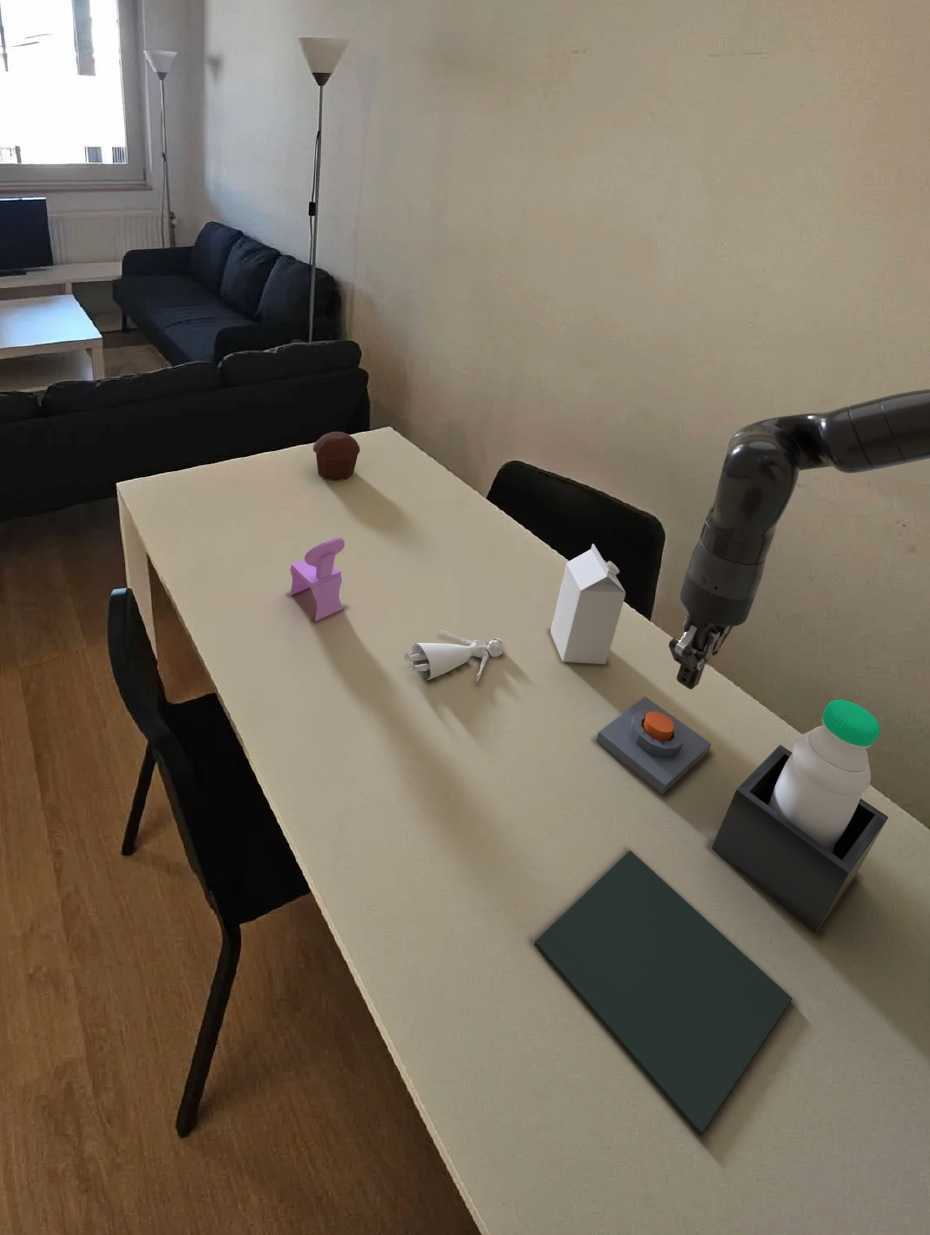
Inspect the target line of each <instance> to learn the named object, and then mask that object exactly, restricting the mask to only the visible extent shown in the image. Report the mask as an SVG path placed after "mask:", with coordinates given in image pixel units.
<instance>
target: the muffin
mask: <svg viewBox="0 0 930 1235" xmlns="http://www.w3.org/2000/svg"><path fill="white" fill-rule="evenodd" d="M312 451H313V452H314V453H315V456H316V465H317V466H316V467H317V474H318V475H319V476H321V477H323V478H324V479H325V480H331V481H335V482H338V481H344V480H348V479H349V478H350V477H352V476H353V475H354V471H355V469H356V463H357V460H358V457H359V455H360V452H361V448H360V445H359V443H358V441H357V440H356V439H355V438H354V437H353V436H352V435H350V434H349V433H345V432H343V431H331V432H329V433H325V434H323V435H322V436H320V437H319V438H318V439H317V440H316V441H315V442H314V444H313V446H312Z"/></svg>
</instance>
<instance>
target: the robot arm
mask: <svg viewBox="0 0 930 1235" xmlns="http://www.w3.org/2000/svg"><path fill="white" fill-rule="evenodd" d="M929 459H930V388H925V389H918V390H917V389H916V390H910V391H904V392H899V393H893V394H890V395H885V396H882V397H879V398H873V399H870V400H866V401H862V402H858V403H853V404H851V405H847V406H843V407H839V408H836V409H833V410H829V411H824V412H808V413H801V414H791V415H783V416H775V417H770V418H766V419H762V420H758V421H755V422H752V423H750V424H748V425H745V426H743V427H741V428H739V429H738V430H737V431H735V433H733V435H732V436H731V438H730V439H729V442H728V445H727V449H726V453H725V456H724V459H723V460H724V461H723V464H722V469H721V471H720V476H719V480H718V484H717V488H716V493H715V496H714V501H713V502H712V503H711V505H710V507H709V509H708V512H707V514H706V517H705V520H704V523H703V526H702V529H701V533H700V536H699V539H698V541H697V543H696V545H695V546H694V549H693V551H692V554H691V557H690V561H689V564H688V567H687V571H686V573H685V576H684V580H683V582H682V586H681V589H680V593H679V598H680V602H681V603H682V605H683V607H684V608H685V609H686V611H687V613H688V614H687V615H686V616H685V617H684V619H683V622H682V628H683V630H682V633H681V637H680V639H678V638H677V639H675V638H672V639H671V640H669V643H668V647H669V650H670V653H671V656H672V658H673V661H674V662H677V663H678V664H679V665H680V666H679V669H678V672H677V675H676V681H677V682H678V683H679V684H681V685H682V686H684V687H686V688H687V689H689V690H693V689H694V688H695V687H697V686H698V685H699V684H700V681H701V678H702V675H703V673H704V669H705V666H708V664H709V663H711V658H712V656H713V657H715V656H716V655H717V654H719V650H720V649H721V647H722V645H723V644H724V643H725V641H726V639H727V638H728V636H729V635H730V632H731V631H732V630H733V628H734V627H738V626H740V625H742V624H744V623H745V622H746V621H747V619H748V617H749V614H750V613H751V609H752V606H753V603H754V600H755V598H756V595H757V592H758V590H759V586H760V584H761V581H762V579H763V574H764V571H765V564H766V560H767V556H768V554H769V551H770V548H771V545H772V542H773V540H774V539H775V538H774V537H775V533H776V529H777V525H778V523H779V521H780V519H781V518H782V516H783V514H784V512H785V510H786V508H787V506H788V504H789V503H790V500H791V498H792V496H793V494H794V491H795V489H796V485H797V482H798V479H799V476H800V472H801V471H804V470H805V471H806V470H807V471H808V470H813V469H821V468H822V469H823V468H830V467H831V468H834V469H836V470H837V471H839V472H840V473H844V474H859V473H864V472H871V471H874V470H881V469H885V468H890V467H895V466H900V465H901V466H902V465H905V464H910V463H915V462H919V461H924V460H929Z"/></svg>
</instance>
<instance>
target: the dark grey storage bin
mask: <svg viewBox="0 0 930 1235" xmlns="http://www.w3.org/2000/svg"><path fill="white" fill-rule="evenodd" d="M791 754H792V751H791V750H789V749H787V748H786V747H785V746H783V745H781V744H779V745H778V746H777V747H776V748H775V749H774V750H773V751H772V752H771V753H770V754H769V755H768V756H767V757H766V759H764V760H763V761H762V762H761V763H760V764H759V766H758V767H756V768H755V770H754V771H753V772H752V773H751V774H750V775H748V777H747V778H746V779H745V780H743V782H742V783H741V784H740V785H739V786H738V787H737V788H736V790H735V791H734V794H733V797H732V799H731V801H730V804H729V806H728V808H727V810H726V813H725V815H724V818H723V820H722V822H721V825H720V827H719V828H718V831H717V834H716V836H715V838H714V841H713V843H712V846H711V849H712V850H713V851H714V852H715V853H717V854H718V855H719V856H720V857H721V858H722V859H723V860H725V862H727V863H729V864H730V865H731V866H732V867H733V868H735V869H736V870H737V871H738V872H739V873H741V874H742V875H743V876H744V877H745V878H746V879H748V880H749V881H750V882H751V883H753V884H754V885H755V886H756V887H757V888H759V889H760V890H761V891H762V892H763V893H765V894H766V895H767V896H768V897H770V898H771V899H772V900H773V901H774V902H776V903H777V904H778V905H779V906H780V907H781V908H783V909H784V910H785V911H787V913H789V914H790V915H791V916H793V918H795V919H796V920H797V921H799V923H801V924H802V925H803V926H805V928H807V929H808V930H809V931H810V932H812V933H813V934H816V933H817V932H818V931H819V929H820V927H821V926H822V925H823V923H824V922H825V920H826V919H827V917H828V916H829V914H830V913H832V910H833V909H834V907H835V906H836V905H837V903H838V902H839V900H840V899H841V897H842V896H843V895H844V893H845V891H846V890H847V889H848V887H849V886H850V884H851V883H852V881H854V879H855V877H856V875H857V874H858V872H859V870H860V868H861V867H862V865H863V863H864V862H865V859H866V858H867V856H868V854H869V852H870V851H871V849H872V848H873V845H874V844H875V842H876V840H877V838H878V837H879V835H880V834H881V833H882V832H881V831H882V830H883V828H884V826H885V825H886V822H887V821H888V819H889V816H888V815H887V814H885V813H883V812H882V811H880V810H879V809H877V808H876V807H875V806H873V805H872V804H870V803H869V802H867V801H865V800H864V799H862V798H860V800H859V803H858V805H857V808H856V810H855V812H854V814H853V816H852V818H851V820H850V822H849V824H848V825H847V827H846V829H845V831H844V832H843V834H842V835H841V837H840V838H839V840H838V841H837V842H836V844H835V845H834V850H833V853H831V852H830V851H829V850H827V849H826V848H825V847H823V846H822V845H821V844H819V843H818V842H817V841H815V840H814V839H812V838H811V837H810V836H808V835H807V834H806V833H804V832H803V831H802V830H800V829H799V828H798V827H796V826H795V825H794V824H792V823H791V822H789V821H788V820H787V819H785V818H784V817H783V816H781V815H780V814H779V813H777V812H776V811H775V810H773V809H772V808H771V807H769V806H768V804H769V803H770V799H771V796H772V793H773V790H774V788H775V785H776V783H777V781H778V778H779V776H780V774H781V772H782V770H783V768H784V766H785V764H786V762H787V760H788V759H789V757H790V755H791Z"/></svg>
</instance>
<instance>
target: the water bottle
mask: <svg viewBox="0 0 930 1235" xmlns="http://www.w3.org/2000/svg"><path fill="white" fill-rule="evenodd" d="M821 724H822V725H819V726H816V727H814V728H812V729H811V730H808V731H806V732H805V733H802V734H801V735H799V736H798V737H797V738H796V740H795V741H794V743H793V745H792V751H791V752H792V754H791V755H790V757H789V759H788V760H787V762H786V764H785V766H784V768H783V770H782V772H781V774H780V776H779V778H778V781H777V783H776V785H775V788H774V790H773V793H772V796H771V799H770V803H769V804H768V806H769V807H771V808H772V809H773V810H775V811H776V812H777V813H779V814H780V815H781V816H783V817H784V818H785V819H787V820H788V821H789V822H791V823H792V824H794V825H795V826H796V827H798V828H799V829H800V830H802V831H803V832H804V833H806V834H807V835H808V836H810V837H811V838H812V839H814V840H815V841H817V842H818V843H819V844H821V845H822V846H823V847H825V848H826V849H827V850H829V851H830V852H831V853H833V850H834V845H835V844H836V842H837V841H838V840H839V838H840V837H841V835H842V834H843V832H844V831H845V829H846V827H847V825H848V824H849V822H850V820H851V818H852V816H853V814H854V812H855V810H856V808H857V805H858V803H859V800H860V798H861V797H862V795H863V794H864V793H865V792H866V791H867V789H868V788H869V786H870V785H871V781H872V772H871V768H870V764H869V756H868V752H867V749H869V748H871V747H872V745H874V744H875V743H876V741H877V740H878V738H879V736H880V733H881V727H880V723H879V721H878V720H877V719H876V717H875V716H874V715H873V714H872V713H871V712H870V711H869V710H868V709H865V708H864V707H863V706H861V705H860V704H859V705H858V704H857V703H854V702H853V701H849V700H845V699H834V700H831V701H830V702H828V703H827V705H826V706H825V708H824V710H823V712H822V718H821ZM861 799H862V798H861Z"/></svg>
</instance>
